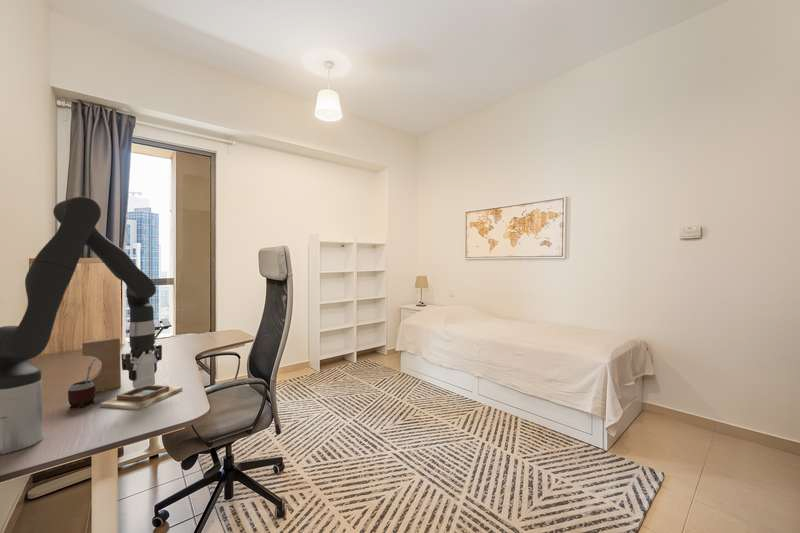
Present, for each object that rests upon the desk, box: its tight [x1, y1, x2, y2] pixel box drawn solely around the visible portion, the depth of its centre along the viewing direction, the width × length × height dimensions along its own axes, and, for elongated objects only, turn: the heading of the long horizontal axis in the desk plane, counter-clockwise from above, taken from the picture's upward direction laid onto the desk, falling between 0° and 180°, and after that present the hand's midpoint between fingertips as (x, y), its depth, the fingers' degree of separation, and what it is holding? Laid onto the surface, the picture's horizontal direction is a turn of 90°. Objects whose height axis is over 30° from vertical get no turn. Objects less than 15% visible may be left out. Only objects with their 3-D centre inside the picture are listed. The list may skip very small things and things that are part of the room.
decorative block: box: [81, 336, 122, 394], centre depth 132 cm, size 11×6×20 cm, turn 134°
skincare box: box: [132, 352, 156, 389], centre depth 123 cm, size 6×4×12 cm
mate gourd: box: [67, 358, 96, 409], centre depth 118 cm, size 8×8×15 cm
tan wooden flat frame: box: [100, 384, 183, 411], centre depth 123 cm, size 18×16×3 cm
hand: (143, 376), depth 123 cm, fingers closed on skincare box, 7 cm apart
